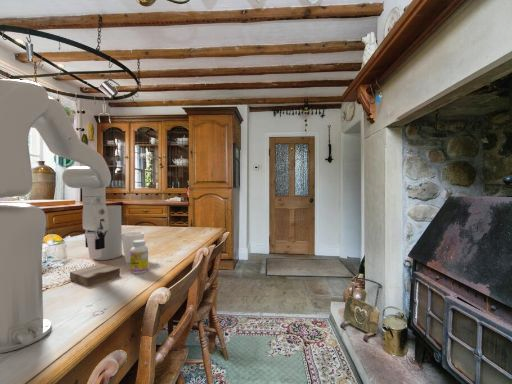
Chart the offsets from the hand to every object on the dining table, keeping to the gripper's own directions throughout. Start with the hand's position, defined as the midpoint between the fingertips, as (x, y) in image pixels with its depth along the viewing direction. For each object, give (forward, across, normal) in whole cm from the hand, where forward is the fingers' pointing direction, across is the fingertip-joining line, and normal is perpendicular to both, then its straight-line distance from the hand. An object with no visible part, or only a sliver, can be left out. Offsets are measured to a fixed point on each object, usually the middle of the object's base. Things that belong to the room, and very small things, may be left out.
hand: (95, 247), depth 100 cm
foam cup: (+12, +7, -21) cm, 25 cm away
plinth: (+12, 0, 0) cm, 12 cm away
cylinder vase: (+12, +24, -19) cm, 33 cm away
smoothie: (+4, 0, 0) cm, 4 cm away
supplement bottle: (+12, -8, -13) cm, 20 cm away
